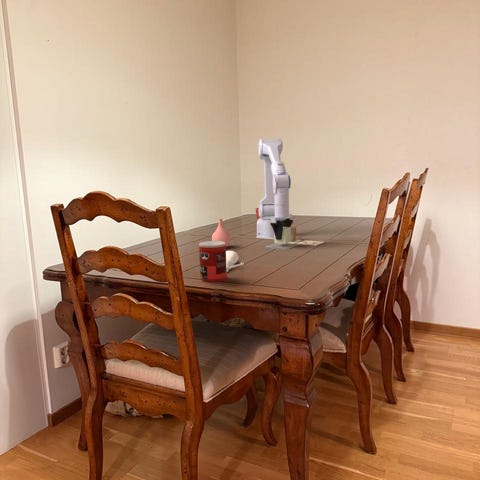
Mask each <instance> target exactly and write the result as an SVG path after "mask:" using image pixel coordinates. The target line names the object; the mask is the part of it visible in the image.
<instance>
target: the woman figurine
mask: <svg viewBox="0 0 480 480" xmlns="http://www.w3.org/2000/svg"><path fill="white" fill-rule="evenodd" d="M239 258H240V257H239V254H238V253H237V252H236V251H234V250H226V270H227V273H229V270H231V269H232V268H236V267H240V266H243V265H244V262H243V261H241V262H240V263H238V264H236V263H237V262H238V261H239Z"/></svg>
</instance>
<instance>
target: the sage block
mask: <svg viewBox="0 0 480 480" xmlns="http://www.w3.org/2000/svg"><path fill="white" fill-rule="evenodd" d="M289 242H291V227H283V231H282V239H281V240H276V237H275V233H274V239H273V244H274V243H280V244H287V243H288V244H290V243H289Z"/></svg>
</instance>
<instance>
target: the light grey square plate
mask: <svg viewBox="0 0 480 480" xmlns="http://www.w3.org/2000/svg"><path fill="white" fill-rule="evenodd" d="M298 246H299V244H296V243H294V244H293V243H287V244H280V243H274V242H273V243H272V244H269V245H265V248H267V249H268V248H269V249H277V250H285V251H286V250H290V249H293V248H296V247H298Z"/></svg>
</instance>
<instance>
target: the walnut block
mask: <svg viewBox="0 0 480 480" xmlns="http://www.w3.org/2000/svg"><path fill="white" fill-rule="evenodd" d="M296 240H297V226H292V225H291V242H294V241H296Z"/></svg>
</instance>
